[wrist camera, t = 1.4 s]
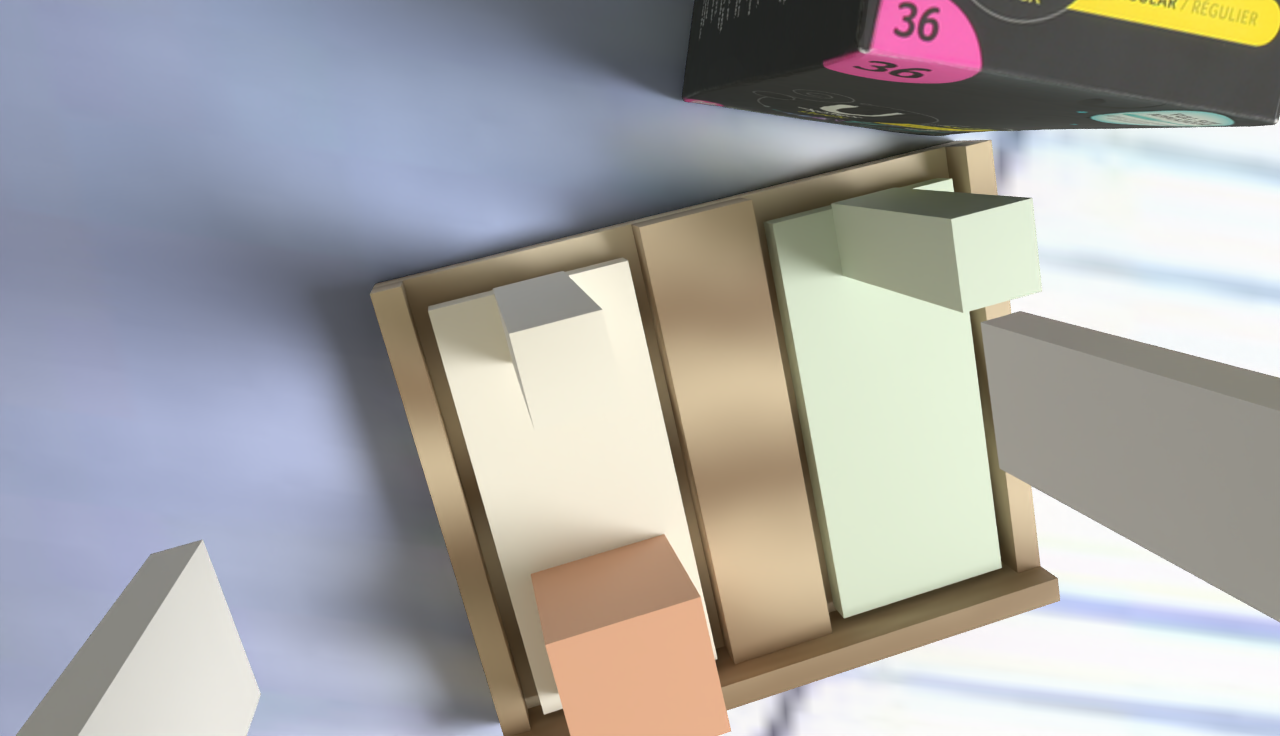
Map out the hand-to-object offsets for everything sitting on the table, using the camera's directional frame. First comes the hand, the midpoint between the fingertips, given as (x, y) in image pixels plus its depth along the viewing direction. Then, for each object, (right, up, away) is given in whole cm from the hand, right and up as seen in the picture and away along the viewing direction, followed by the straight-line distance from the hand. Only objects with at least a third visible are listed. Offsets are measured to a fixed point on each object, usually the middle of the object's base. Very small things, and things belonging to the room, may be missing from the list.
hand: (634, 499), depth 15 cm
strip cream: (-2, -2, +19) cm, 19 cm away
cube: (-1, -7, +19) cm, 20 cm away
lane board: (+3, -1, +21) cm, 21 cm away
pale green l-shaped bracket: (+9, +1, +20) cm, 22 cm away
